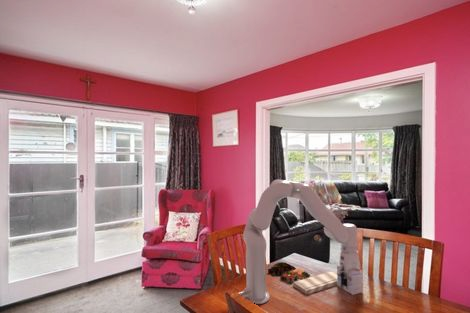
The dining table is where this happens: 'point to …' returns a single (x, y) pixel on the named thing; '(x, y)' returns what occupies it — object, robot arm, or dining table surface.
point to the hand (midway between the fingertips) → (349, 283)
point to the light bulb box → (351, 281)
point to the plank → (316, 282)
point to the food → (287, 272)
